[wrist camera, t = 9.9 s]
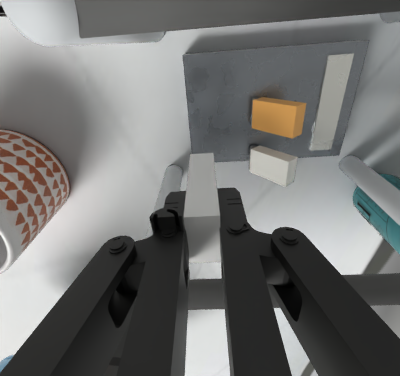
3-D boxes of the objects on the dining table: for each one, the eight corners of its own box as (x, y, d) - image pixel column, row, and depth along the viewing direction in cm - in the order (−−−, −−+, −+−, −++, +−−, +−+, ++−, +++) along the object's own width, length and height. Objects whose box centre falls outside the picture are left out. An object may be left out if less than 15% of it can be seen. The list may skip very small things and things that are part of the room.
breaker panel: (193, 155, 32) (192, 164, 30) (184, 53, 26) (182, 55, 23) (329, 147, 31) (340, 156, 29) (355, 40, 25) (371, 40, 22)
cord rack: (166, 180, 34) (129, 318, 17) (139, 15, 24) (-19, -45, 7) (355, 170, 33) (515, 309, 16) (411, -9, 23) (1030, -156, 6)
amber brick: (246, 126, 27) (292, 138, 23) (247, 99, 25) (296, 106, 21) (256, 123, 27) (301, 134, 24) (257, 96, 26) (306, 103, 22)
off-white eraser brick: (245, 170, 30) (285, 187, 26) (246, 147, 28) (288, 162, 24) (253, 165, 30) (293, 181, 26) (254, 143, 29) (297, 157, 25)
